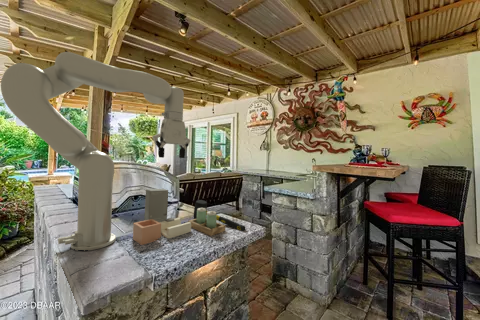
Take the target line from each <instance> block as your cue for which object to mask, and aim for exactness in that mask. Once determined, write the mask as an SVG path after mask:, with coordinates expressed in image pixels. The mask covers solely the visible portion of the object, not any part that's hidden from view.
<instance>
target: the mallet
mask: <svg viewBox="0 0 480 320" xmlns="http://www.w3.org/2000/svg"><path fill="white" fill-rule="evenodd" d="M198 208H205V209H206V217H207V212H209V211H208V209H207V208H208V202H207V201H206V200H203V199H197V200H196V201H195V204H194V209H193V217H194V218H193V219H197V209H198ZM216 221H217V222H219V223H221V224H223V225H226V226H228V227H231V228H233V229H235V230H238V231H240V232H244V231H246V225H243V224H239V223H238V222H235V221H233V220H231V219H228V218H226V217H223V216H220V215H217V214H216Z"/></svg>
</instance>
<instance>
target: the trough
mask: <svg viewBox="0 0 480 320" xmlns="http://www.w3.org/2000/svg"><path fill="white" fill-rule="evenodd" d="M187 222H191V229H195V230H197V232H198V231H199V232H201V233H203V234H206V235H208V236H210V237H212V236H215V235H218V234H220V233H222V232H225V231H226V226H227V225H226V224H224V223H221V222H218V221H216V228H213V229H210V228H208V227H207V218H206V223H203V224H198V223H196V222H197V219H194V218H193V219H190V220H188V221H187Z"/></svg>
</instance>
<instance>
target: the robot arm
mask: <svg viewBox="0 0 480 320" xmlns="http://www.w3.org/2000/svg"><path fill="white" fill-rule="evenodd" d="M83 85H86V86H89V87H90V86H91V87H94V88H98V89H101V90H104V91H107V92H112V93H127V92H132V93H134V92H135V93H140V94H143V98H144V99H145V100H146V101H147V102H149V103H151V104H157V105H158V104H159V105H160V104H161V105H164V112H162V113H161V117H163V119H162V121H161V125H160V130H159V133H157V134H155V135H152V139H153V143H154V144H155V146H156V147H157V148H158V149H157V150H158V158H164V157H165V146H166V145H177V146H179V147H180V148H179V150H178V151H179V153H178V156H179V159H185V156H186V150H187V148H188V147H189V145H190V143H191V139H190V138H189V137H187V132H186V125H185V121H184V99H185V98H184V97H185V95H184V94H185V93H184V90H183V89H182V88H180V87H176V86H171V85H170V84H169V82H168V81H166V80H165V79H164V78H162V77H159V76H156V75H154V74H151V73H148V72H144V71H140V70H133V69H129V68H120V67H117V66H113V65H110V64H107V63H103V62H101V61H99V60H96V59H93V58H89V57H86V56H83V55H81V54H77V53H74V52H72V51H64V52H60V53H59V54H58V55H57V56H56V57H55V59H54V64H53V65H51V66H49V67H47V68H43V69H41V68H39V67H37V66H36V65H33V64H32V63H31V64H30V63H25V62H18V63H14V64H11V65H10V66H8V68H7V69H6V70H5V71H4V73H3V74H2V77H1V80H0V92H1V96H2V99H3V101H4V103H5V104H6V106H7V108H9V110H10V111H11V113H13V115H14V116H15V117H16V118H17V119H18V120H19V121H20V122H22V123H23V124H24V125H25V126H26V127H27V128H29V130H31V131H32V132H33V133H34V134H36V135H37V136H38V137H39V138H40V139H41V140H43V141H44V142H45V143H46V144H47V145H48V146H49V147H50V148H51V149H52V150H53V151H54V152H56V153H57V154H58V155H60V156H61V157H62V158H64V159H65V160H66V161H67V162H69V164H71V165H72V166H73V167H74V168H76V169H77V170H78V189H77V190H78V191H77V192H78V193H77V194H78V195H77V199H78V200H77V202H78V203H77V230H75V231H74V233H73V234H70V235H69V236H62V237H58V238H57V243H58V245H62V244H64V246H66V245H70V248H71V249H72V250H74V249H75V250H74V251H78V250H84V252H85V250H88V251H93V250H94V251H95V250H99V249H103V248H106V247H108V246H110V245H112V244H113V243H114V242H116V239H117V236H116V235H115V234H114V233H112V213H113V212H112V211H113V210H112V209H113V185H114V183H113V182H114V176H115V163H114V160H113V159H112V157H111V156H110V155H108V154H107V153H105V152H102V151H100V149H99V148H97V147H96V146H95V145H94V144H93V143H92V142H91V141H90V140H89V139H88V138H87V137H86V135H85V134H84V133H83V132H82V131H81V130H80V129H78V128H77V127H76V126H75V125H73V124H72V123H71V122H70V121H69V120H68V119H66V118H65V117H64V115H62V114H61V112H60V111H59V110H57V108H55V107H54V106H53V105H52V103H51V101H50V100H52V99H54V98H57V97H59V96H61V95H63V94H66V93H68V92H70V91H73V90H75V89H77V88H79V87H81V86H83Z"/></svg>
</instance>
